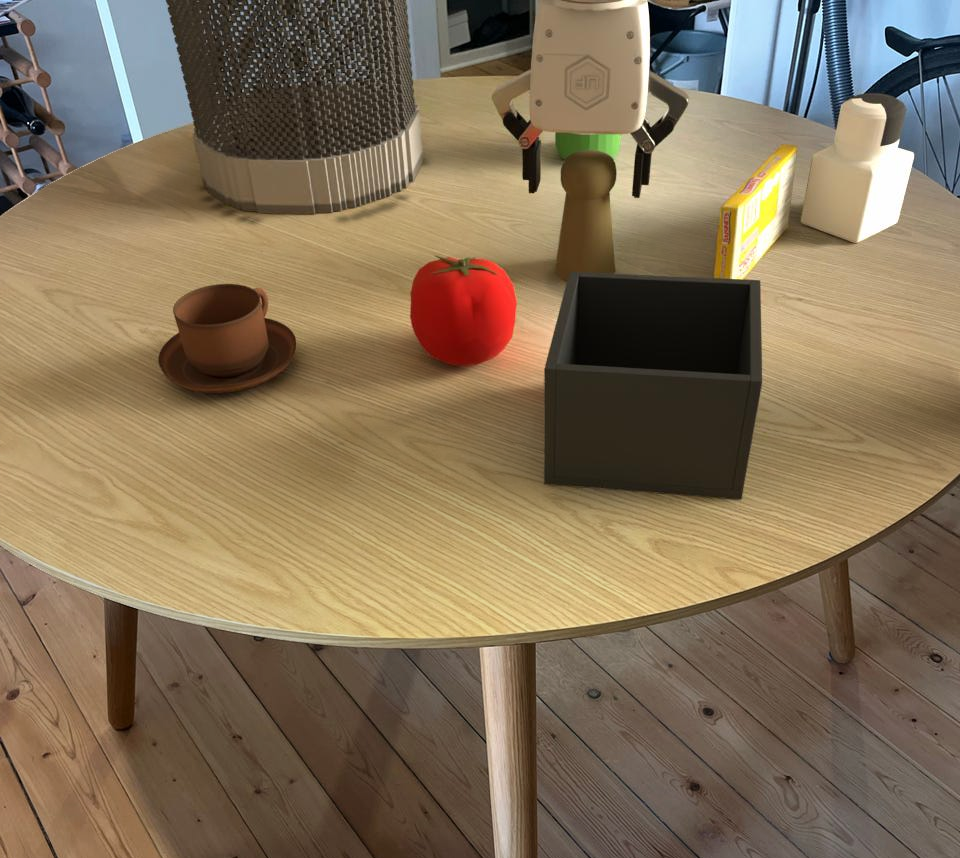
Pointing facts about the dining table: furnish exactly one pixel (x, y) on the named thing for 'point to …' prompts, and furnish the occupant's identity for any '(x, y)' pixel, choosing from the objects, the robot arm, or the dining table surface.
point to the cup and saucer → (225, 340)
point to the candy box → (755, 215)
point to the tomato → (462, 310)
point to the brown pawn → (586, 214)
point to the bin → (653, 384)
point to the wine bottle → (586, 143)
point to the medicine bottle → (860, 171)
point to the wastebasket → (299, 102)
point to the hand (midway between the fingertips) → (585, 189)
